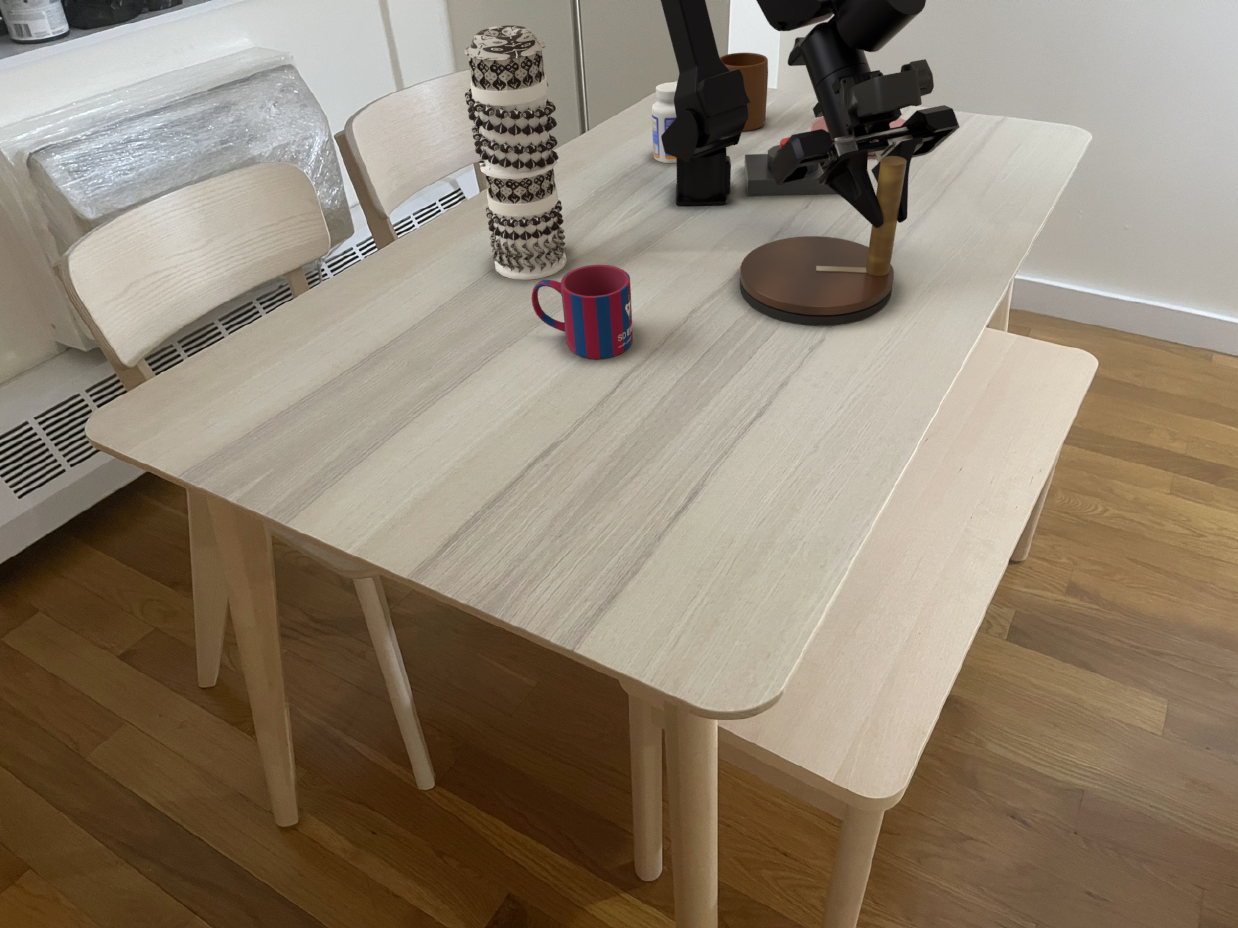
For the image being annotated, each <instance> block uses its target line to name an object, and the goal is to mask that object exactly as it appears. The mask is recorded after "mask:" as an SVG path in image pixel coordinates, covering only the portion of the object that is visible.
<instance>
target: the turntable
mask: <svg viewBox="0 0 1238 928" xmlns="http://www.w3.org/2000/svg"><path fill="white" fill-rule="evenodd" d="M906 162H907V161H906V159H904V158H902V157H898V156H887V157H884V158H882V159H881V163H880V170H879V178H878V183H877V186H876V192H875V194H876V197H877V200H878V202H879V205H880V208H881V212H882V217H883V221H884V223H883V225H882V226H881V227H879V228H875V227H874V226H873V225H872V224H871V227H870V228H871V229H870V236H869V244H868V246H867V245H865V244H862V243H859V242H856V241H852V240H848V239H844V238H839V237H831V236H819V235H818V236H817V235H807V236H806V235H805V236H793V237H787V238H781V239H776V240H772V241H770V242H767V243H764V244H762V245H760V246H758V247H756V248H754V249H752V250H751V251H750V252H748V254H747V255H746V256H745V257H744V258H743V259H742V262H741V264H740V271H739V272H740V273H739V281H740V280H741V283H742V285H743V287H744V289H745V290H746V291H747V292H748V293H749V294H750V295H751V296H752V297H754V298H755V299H757V300H758V301H760V302H762V303H764V304H766V305H768V306H771V307H774V308H777V309H780V310H783V311H788V312H792V313H799V314H807V315H837V314H845V313H850V312H855V311H859V310H862V309H865V308H868V307H870V306H873V305H875V304H876V303H878V302H880V301H881V300H882V299H884V298H885V297H886V296H887V295H888V294H889V292H890V290H891V289H892V290H893V286H894V279H895V271H894V267H893V266H892V257H893V250H894V243H895V237H896V232H897V225H898V221H897V219H898V213H899V207H900V200H901V194H902V188H903V181H904V175H905V168H906Z"/></svg>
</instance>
